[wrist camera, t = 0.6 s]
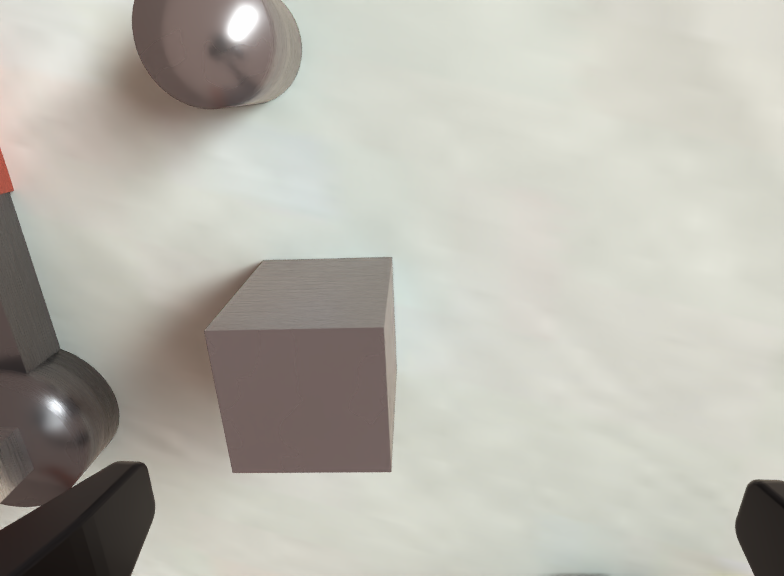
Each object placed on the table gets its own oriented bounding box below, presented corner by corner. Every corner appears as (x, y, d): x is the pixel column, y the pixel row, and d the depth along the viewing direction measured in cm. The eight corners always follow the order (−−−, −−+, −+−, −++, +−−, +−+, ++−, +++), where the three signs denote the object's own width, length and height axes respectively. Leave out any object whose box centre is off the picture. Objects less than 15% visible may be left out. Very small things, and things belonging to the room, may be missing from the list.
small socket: (307, 101, 17) (278, 106, 14) (204, 105, 17) (149, 111, 14) (295, -20, 16) (260, -51, 12) (184, -14, 16) (116, -43, 12)
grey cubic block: (396, 369, 21) (391, 472, 16) (279, 371, 21) (232, 472, 16) (392, 257, 19) (383, 327, 14) (263, 260, 19) (203, 330, 14)
